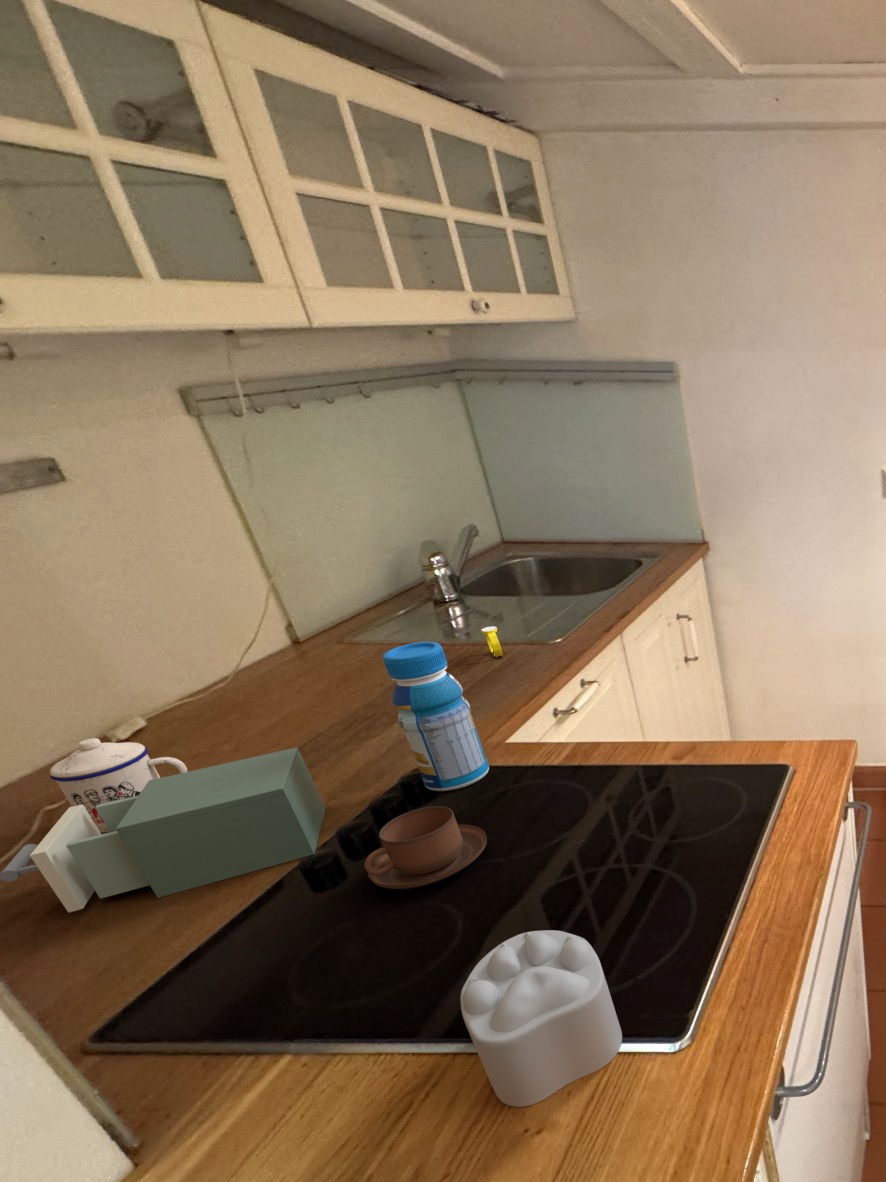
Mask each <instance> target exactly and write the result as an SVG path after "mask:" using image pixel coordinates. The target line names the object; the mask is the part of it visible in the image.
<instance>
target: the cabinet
mask: <svg viewBox="0 0 886 1182" xmlns="http://www.w3.org/2000/svg"><path fill="white" fill-rule="evenodd" d="M326 809H327V808H326V806H325V804H324V802H323V799H322V796H321V795H320V793H319V791H318V788H317V787H316V784H315V781H314V780H313V778H312V775H311V773H310V771H309V769H308V766H307V764H306V762H305V759H304V758H303V756H302V754H301V751H300V750H299V748H298V747H293V748H289V749H283V750H279V751H274V752H270V753H266V754H261V755H257V756H252V757H249V758H248V757H247V758H244V759H239V760H234V761H230V762H226V763H221V764H216V765H213V766H208V767H203V768H199V769H193V770H190V771H188V772H185V773H175V774H173V775H167V776H163V777H160V778H158V779H153V780H149V781H148V783H147V784H146V785H145V787H144V788H143V790H142V791H141V793H140V794H139V796H138V797H137V799H136V800H135V802H134V803H133V804H132V806H131V807H130V809H129V810H128V812H127V813H126V815H125V816H124V818H123V819H122V820H121V822H120V823H119V825H118V826H117V828H116V830H117V832H118V833H119V835H120V837H121V838H122V840H123V842H124V843H125V845H126V847H127V848H128V850H129V852H130V853H131V855H132V857H133V858H134V860H135V862H136V863H137V865H138V866H139V868H140V870H141V871H142V873H143V875H144V876H145V878H146V880H147V881H148V883H149V886H150V888H151V889H152V891H153V893H154V895H155V896H156V898H157V899H159V898H163V897H166V896H170V895H173V894H177V893H180V892H184V891H187V890H193V889H195V888H197V887H202V886H207V885H209V884H213V883H216V882H220V881H224V880H227V879H228V880H229V879H231V878H235V877H239V876H241V875H245V874H249V873H252V872H256V871H259V870H263V869H267V868H271V867H274V866H277V865H282V864H285V863H288V862H292V861H295V860H299V859H303V858H307V857H310V856H313V855H315V854H316V850H317V846H318V843H319V842H318V841H319V837H320V834H321V829H322V825H323V821H324V817H325V813H326Z"/></svg>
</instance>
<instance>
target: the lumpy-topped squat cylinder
mask: <svg viewBox="0 0 886 1182" xmlns="http://www.w3.org/2000/svg"><path fill="white" fill-rule="evenodd" d="M459 998H460V999H459V1000H460V1009H461V1015H462V1018H463V1022H464V1024H465V1027H466V1029H467V1031H468V1033H469V1036H470V1038H471V1041H472V1043H473V1045H474V1049H475V1050H476V1053H477V1055H478V1057H479V1060H480V1062H481V1065H482V1066H483V1069H484V1071H485V1074H486V1077H487V1079H488V1081H489V1083H490V1085H491V1087H492V1089H493V1092H494V1093H495V1095H496V1097H497V1098H498V1099H499V1101H500V1102H501V1103H503V1104H505V1105H507V1106H510V1107H515V1108H523V1107H525V1108H526V1107H530V1106H532V1105H536V1104H538V1103H540V1102H542V1101H543V1100H545V1099H547V1098H549V1097H550V1096H552V1095H553V1094H555V1093H557V1092H558V1091H559V1090H561V1089H562V1088H564V1087H566V1086H567V1085H569V1084H571V1083H573V1082H575V1081H577V1080H579V1079H581V1078H583V1077H586V1076H589V1075H591V1074H593V1073H596V1072H598V1071H599V1070H601V1069H603V1068H604V1067H606V1066H607V1065H609V1064H610V1063H611V1062H612V1061H613V1060H614V1058H615V1057H616V1056H617V1054H618V1052H619V1051H620V1049H621V1046H622V1043H623V1031H622V1028H621V1025H620V1022H619V1019H618V1014H617V1013H616V1009H615V1006H614V1002H613V999H612V996H611V993H610V989H609V986H608V983H607V980H606V976H605V973H604V970H603V967H602V964H601V961H600V958H599V956H598V954H597V953H596V951H595V950H594V948H593V947H592V945H591V944H590V943H589V942H588V940H586V938H584V937H582V936H579V935H576V934H573V933H569V932H566V931H562V930H555V929H553V930H552V929H547V930H546V929H545V930H532V931H527V932H523V933H520V934H517V935H514V936H512V937H510V938H508V939H506V940H505V941H503V942H501V943H500V944H498V945H496V947H494V948H493V949H491V951H489V952H488V953H486V954H485V956H484V957H482V959H480V960H479V962H478V963H476V965H475V966H474V967H473V969H472V970H471V972H470V974H469V975H468V976H467V979H466V981H465V983H464V984H463V986H462V988H461V991H460V997H459Z"/></svg>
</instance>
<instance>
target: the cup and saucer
mask: <svg viewBox="0 0 886 1182" xmlns="http://www.w3.org/2000/svg"><path fill="white" fill-rule="evenodd" d="M456 819H457V818H456V817H455V814H454V812H453V810H452V809H451V808H449V807H447V806H441V805H439V806H438V805H437V806H434V805H433V806H425V807H421V808H417V809H414V810H411V811H408V812H406V813H403V814H401V815H398V816H396V817H394V818H393V819H391V820H389V821H388V822H386V823H385V825H383V826H382V828H381V829H380V830H379V833H378V838H379V839H380V841H381V843H382V845H383V847H380V848H378V849H376V850H374V851H372V852H371V853H369V855H368V856H367V857H366V859H365V861H364V869H365V871H366V872H367V876H368V878H369V879H370V881H371V882H372V883H373V884H374V885H376V886H378V887H381V888H385V889H390V890H391V889H392V890H410V889H417V888H421V887H425V886H430V885H432V884H435V883H438V882H440V881H443V880H446V879H448V878H450V877H452V876H454V875H456V874H458V873H460V872H461V871H463V870H464V869H466V868H468V867H469V866H470V865H471V864H473V862H474V861H476V860H477V859H478V857H479V856H480V855H481V854H482V852H483V851H484V849H485V848H486V845H487V835H486V832H485V831H484V830H483V828H480V827H478V826H475V825H471V824H458V823H457V820H456Z"/></svg>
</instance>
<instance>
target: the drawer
mask: <svg viewBox="0 0 886 1182" xmlns="http://www.w3.org/2000/svg"><path fill="white" fill-rule="evenodd" d="M138 796H139V795H138ZM138 796H134V797H130V798H125V799H121V800H117V801H112V802H108V803H103V804H99V805H97V806H96V807H95V809H96V810H97V812H98V813H99V815H100V817H101V818H102V820H103V822H104V823H105V825H106V826H107V828H108V830H109V831H110V832H107V833H100V831H99V830H98V828H97V826H96V825H95V823H94V822H93V820H92V818H91V817H90V815H89V813H88V812H87V810H86V809H85V807H84V805H83V804H82V805H78V806H73V807H72V806H69V807H68V808H67V809H66V810H65V812H63V814H62V815H61V817H60V818H59V819H57V821H56V823H55V824H54V825H53V826H52V827H51V829H49V831H48V832H47V833H46V835H45V836H44V837H43V838H42V839H41V841H40V842H39V843H38V844H35V843H28V844H25V845H23V846H22V847H21V849H20V850H19V851H18V852H17V853H16V855H14V857H13V858H12V859H11V860H10V861H9V862H8V864H7V865H6V866H5V867H4V868H3V870H2V871H1V872H0V880H1V881H2V882H8V883H9V882H11V883H12V882H15V881H17V880H18V879H19V878H20V877H21V876H23V875H26V874H30V873H34V872H38V871H39V872H40V873H41V874H42V875H43V877H44V879H45V880H46V882H47V883H48V885H49V886H50V888H51V889H52V891H53V892H54V893H55V895H56V897H57V898H58V900H59V901H60V902H61V904H62V905H63V907H64V908H65V910H66V911H67V913H68V914H69V913H72V912H76V911H80V910H83V909H85V907H86V905H87V904H88V902H89V900H90V899H91V897H92V896H93V894H94V893H96V895H97V897H98V898H99V899H104V898H108V897H112V896H115V895H116V896H117V895H120V894H123V893H127V892H130V891H134V890H137V889H141V888H145V887H149V886H150V885H149V883H148V881H147V880H146V878H145V876H144V875H143V873H142V871H141V870H140V868H139V866H138V865H137V863H136V862H135V860H134V858H133V857H132V855H131V853H130V852H129V850H128V848H127V847H126V845H125V843H124V842H123V840H122V838H121V837H120V835H119V833H118V832H117V830H116V828H117V826H118V825H119V823H120V822H121V820H122V819H123V818H124V816H125V815H126V813H127V812H128V810H129V809H130V807H131V806H132V804H133V803H134V802H135V800H136V799H137V797H138ZM32 862H34V864H31V863H32ZM30 864H31V865H30Z"/></svg>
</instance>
